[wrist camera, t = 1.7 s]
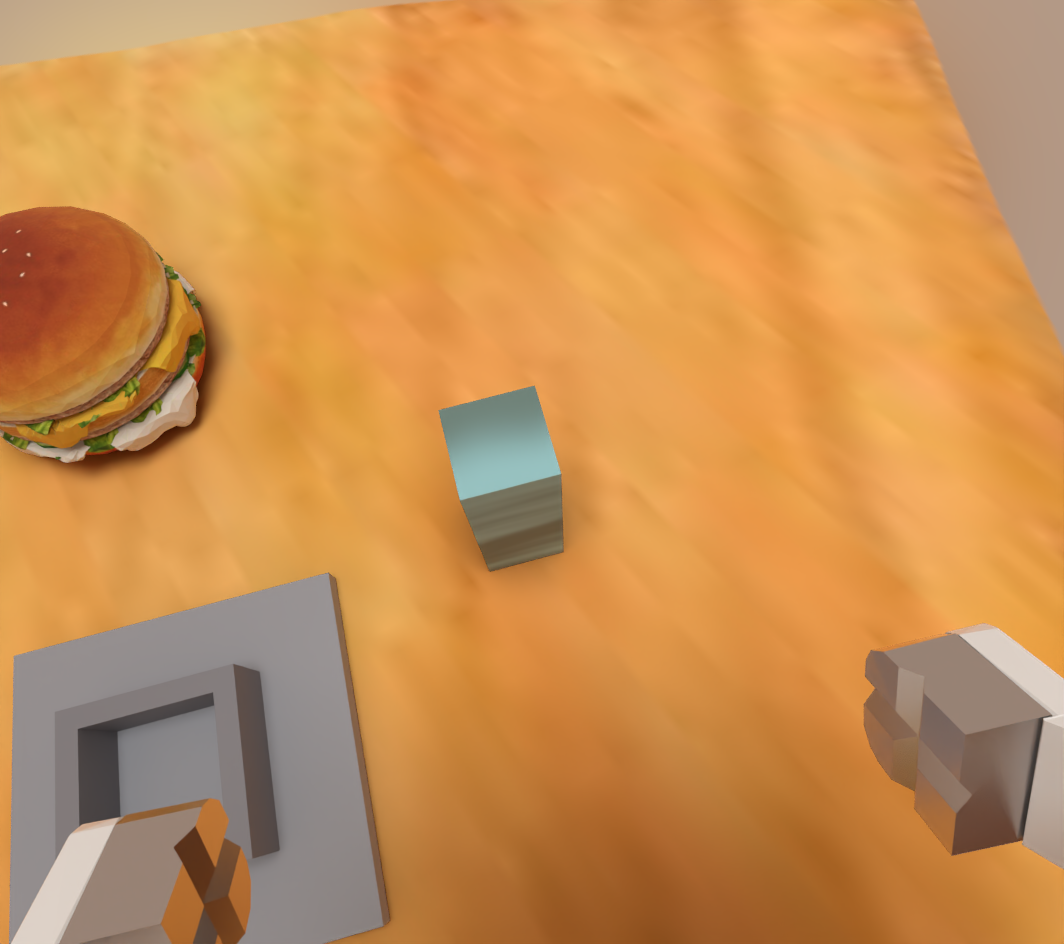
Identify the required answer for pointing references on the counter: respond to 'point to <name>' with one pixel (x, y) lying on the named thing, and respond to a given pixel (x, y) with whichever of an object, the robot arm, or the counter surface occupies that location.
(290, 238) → the counter surface
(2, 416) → the burger
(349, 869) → the socket board
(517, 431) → the teal peg
